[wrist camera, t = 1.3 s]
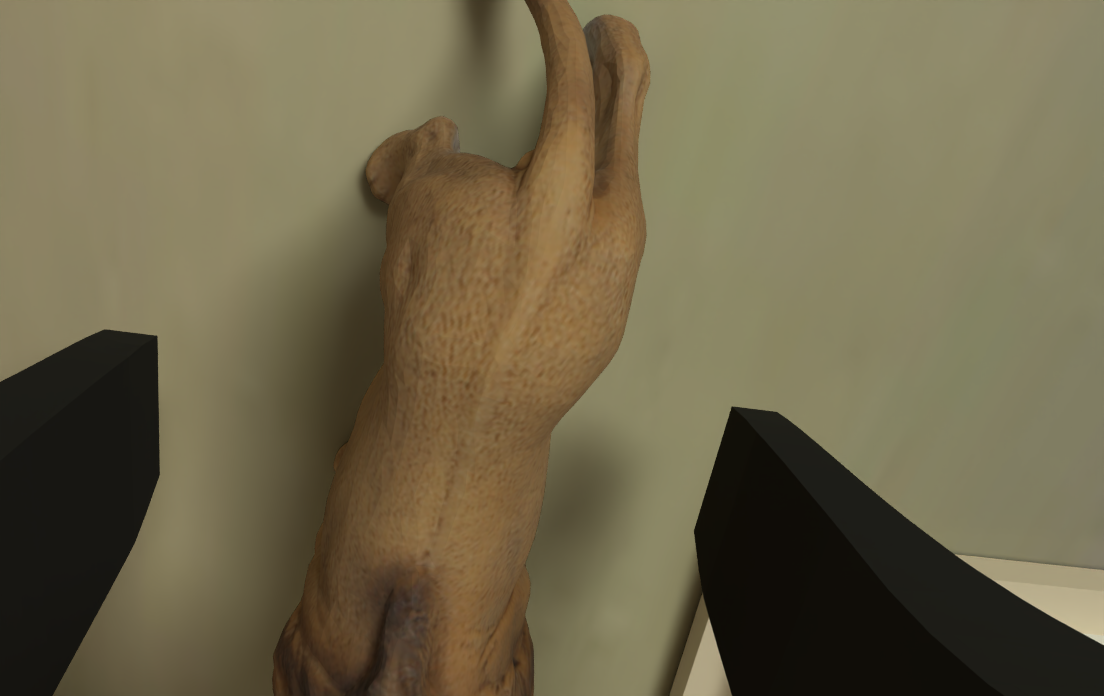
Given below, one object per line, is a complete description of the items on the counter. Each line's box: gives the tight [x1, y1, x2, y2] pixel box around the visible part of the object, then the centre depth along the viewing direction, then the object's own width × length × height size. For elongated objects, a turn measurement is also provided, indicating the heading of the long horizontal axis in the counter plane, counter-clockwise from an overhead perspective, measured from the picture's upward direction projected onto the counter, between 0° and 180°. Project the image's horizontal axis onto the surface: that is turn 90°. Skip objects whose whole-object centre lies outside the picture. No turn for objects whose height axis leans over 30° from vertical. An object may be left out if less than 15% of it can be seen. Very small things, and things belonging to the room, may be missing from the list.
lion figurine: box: [272, 0, 650, 696], centre depth 11 cm, size 12×4×7 cm, turn 175°
